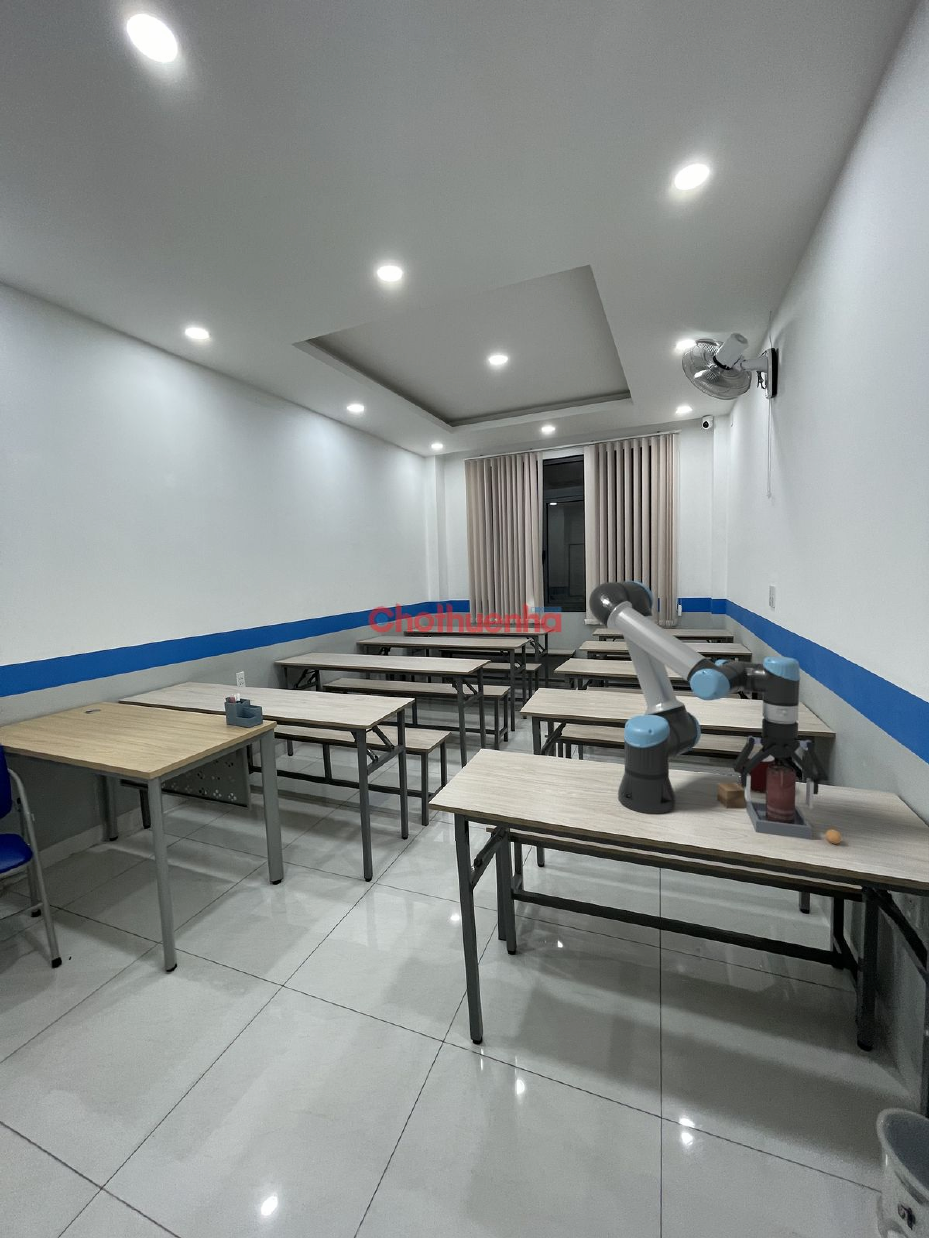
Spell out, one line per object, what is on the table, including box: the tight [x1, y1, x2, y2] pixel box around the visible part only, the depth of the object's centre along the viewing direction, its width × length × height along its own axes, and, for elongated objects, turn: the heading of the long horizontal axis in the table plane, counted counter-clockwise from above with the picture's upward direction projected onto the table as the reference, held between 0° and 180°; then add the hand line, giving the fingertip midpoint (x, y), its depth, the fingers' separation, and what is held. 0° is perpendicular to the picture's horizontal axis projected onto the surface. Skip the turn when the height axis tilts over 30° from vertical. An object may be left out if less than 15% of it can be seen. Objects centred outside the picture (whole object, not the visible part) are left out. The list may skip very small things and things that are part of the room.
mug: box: [742, 751, 776, 793], centre depth 143 cm, size 10×8×10 cm
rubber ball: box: [825, 829, 843, 845], centre depth 114 cm, size 3×3×3 cm
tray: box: [746, 800, 813, 840], centre depth 123 cm, size 12×12×3 cm
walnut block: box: [716, 782, 746, 809], centre depth 135 cm, size 5×5×5 cm
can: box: [765, 763, 797, 824], centre depth 123 cm, size 6×6×14 cm
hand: (777, 802), depth 123 cm, fingers open, 13 cm apart
